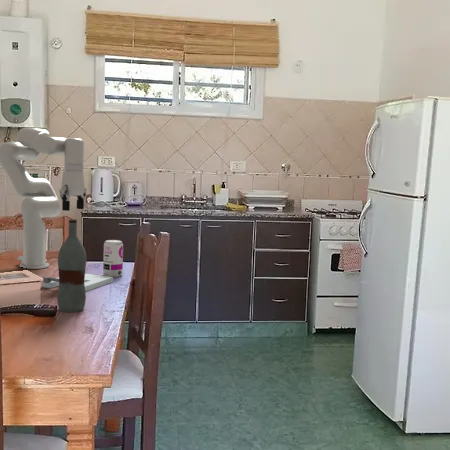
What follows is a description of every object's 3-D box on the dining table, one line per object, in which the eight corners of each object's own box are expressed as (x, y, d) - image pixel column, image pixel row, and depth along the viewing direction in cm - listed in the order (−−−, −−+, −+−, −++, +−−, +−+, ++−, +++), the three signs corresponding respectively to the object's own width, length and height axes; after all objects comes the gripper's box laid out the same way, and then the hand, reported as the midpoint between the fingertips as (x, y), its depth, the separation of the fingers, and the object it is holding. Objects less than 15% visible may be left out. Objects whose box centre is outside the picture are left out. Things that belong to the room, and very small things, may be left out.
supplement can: (124, 274, 244) (125, 240, 243) (119, 277, 236) (120, 243, 234) (106, 272, 245) (107, 239, 243) (100, 276, 237) (101, 241, 235)
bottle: (70, 314, 179) (72, 222, 176) (50, 309, 184) (51, 219, 180) (91, 308, 187) (93, 220, 184) (72, 303, 192) (73, 217, 188)
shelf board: (41, 287, 213) (41, 277, 213) (76, 276, 234) (76, 267, 234) (80, 293, 207) (81, 282, 207) (113, 281, 228) (113, 272, 228)
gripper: (78, 168, 239) (77, 207, 241) (52, 167, 223) (52, 210, 225) (93, 169, 236) (92, 209, 238) (68, 168, 220) (68, 211, 222)
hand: (73, 209), depth 232 cm, fingers open, 9 cm apart
